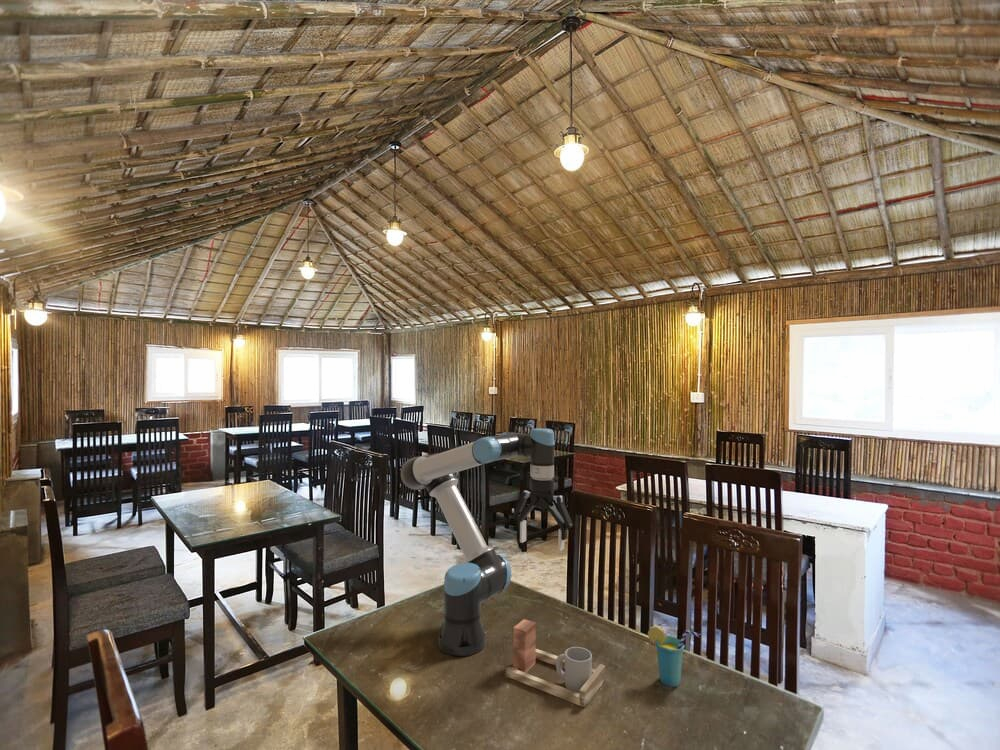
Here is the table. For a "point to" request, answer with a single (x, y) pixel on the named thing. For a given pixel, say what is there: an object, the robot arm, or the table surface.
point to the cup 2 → (669, 655)
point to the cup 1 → (575, 667)
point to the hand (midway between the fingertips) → (541, 545)
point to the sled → (528, 654)
